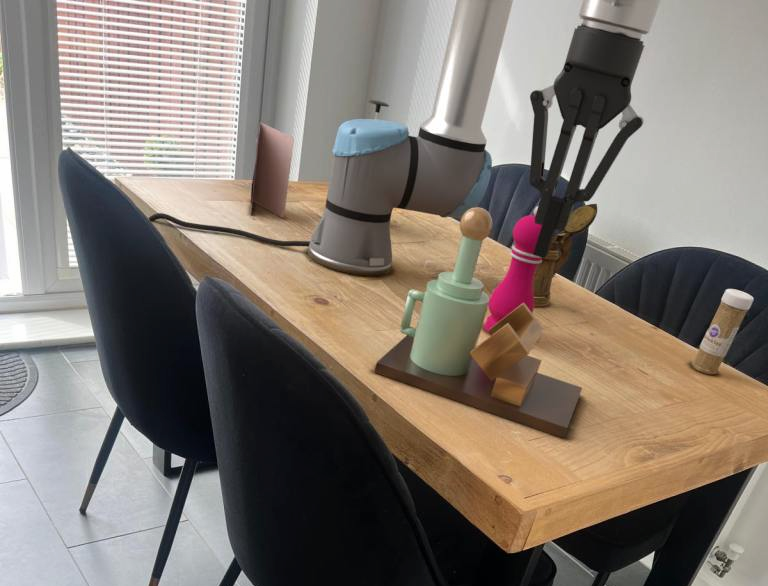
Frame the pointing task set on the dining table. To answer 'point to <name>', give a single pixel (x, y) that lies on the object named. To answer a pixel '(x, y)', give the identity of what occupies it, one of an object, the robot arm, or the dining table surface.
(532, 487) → the dining table surface
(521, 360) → the oak rest
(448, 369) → the jug
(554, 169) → the robot arm
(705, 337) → the sprinkles bottle
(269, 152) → the greeting card
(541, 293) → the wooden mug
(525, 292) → the pepper mill
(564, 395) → the walnut board
